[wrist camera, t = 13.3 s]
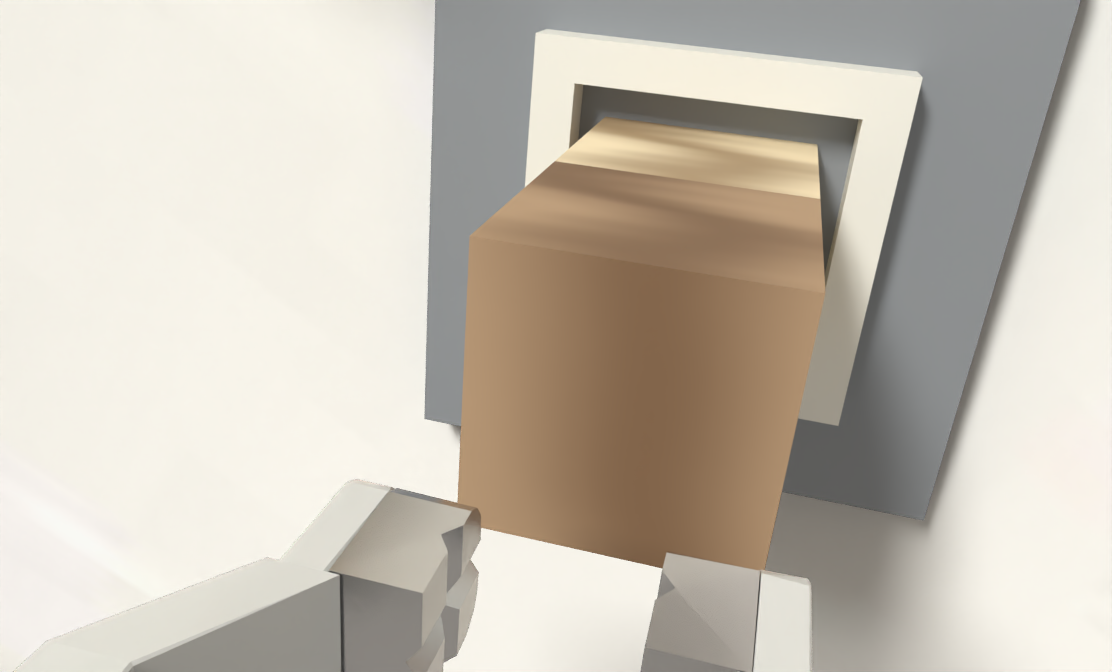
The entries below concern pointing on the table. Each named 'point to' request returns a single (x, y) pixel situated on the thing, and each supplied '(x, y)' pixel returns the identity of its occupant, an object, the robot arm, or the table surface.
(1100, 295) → the table surface
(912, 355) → the slate plate
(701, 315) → the block stack
